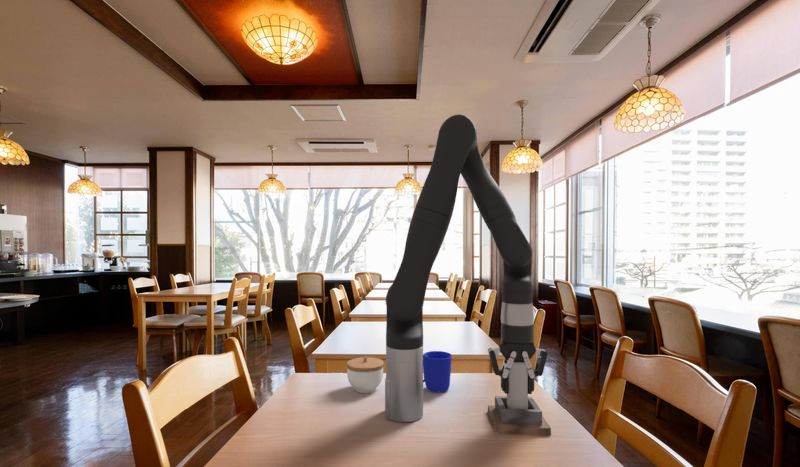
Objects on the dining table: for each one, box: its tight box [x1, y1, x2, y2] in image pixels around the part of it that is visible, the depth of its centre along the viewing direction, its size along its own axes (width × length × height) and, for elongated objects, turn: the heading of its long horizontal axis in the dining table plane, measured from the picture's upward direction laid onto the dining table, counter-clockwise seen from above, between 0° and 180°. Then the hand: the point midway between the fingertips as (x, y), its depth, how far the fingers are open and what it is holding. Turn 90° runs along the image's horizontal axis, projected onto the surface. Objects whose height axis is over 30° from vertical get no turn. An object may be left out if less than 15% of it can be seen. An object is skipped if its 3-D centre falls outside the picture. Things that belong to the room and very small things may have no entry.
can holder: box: [487, 395, 552, 436], centre depth 100 cm, size 12×12×4 cm
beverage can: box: [506, 362, 529, 409], centre depth 100 cm, size 5×5×12 cm
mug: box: [423, 350, 453, 393], centre depth 122 cm, size 8×12×10 cm
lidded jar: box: [346, 355, 385, 394], centre depth 122 cm, size 11×11×9 cm
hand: (517, 392), depth 100 cm, fingers closed on beverage can, 5 cm apart
